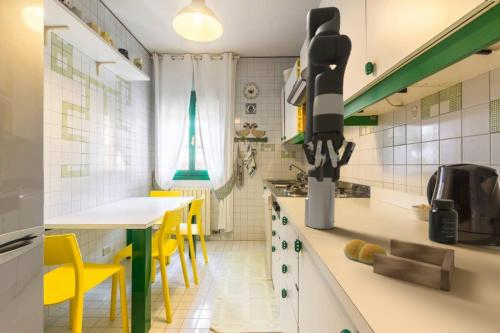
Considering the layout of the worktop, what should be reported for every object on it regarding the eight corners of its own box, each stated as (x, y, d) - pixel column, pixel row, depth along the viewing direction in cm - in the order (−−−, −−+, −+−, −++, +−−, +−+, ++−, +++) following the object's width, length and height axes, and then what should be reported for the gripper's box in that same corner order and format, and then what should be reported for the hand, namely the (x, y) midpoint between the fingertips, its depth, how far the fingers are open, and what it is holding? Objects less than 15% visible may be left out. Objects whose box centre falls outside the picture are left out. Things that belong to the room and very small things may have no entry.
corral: (373, 271, 53) (373, 254, 53) (391, 253, 65) (391, 238, 65) (448, 291, 45) (449, 271, 45) (454, 266, 57) (454, 249, 57)
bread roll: (377, 268, 55) (377, 249, 55) (338, 257, 62) (338, 240, 62) (393, 259, 61) (393, 242, 61) (355, 249, 67) (356, 234, 67)
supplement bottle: (423, 237, 80) (424, 197, 80) (447, 238, 79) (448, 198, 79) (437, 244, 73) (437, 200, 73) (463, 245, 72) (464, 201, 72)
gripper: (361, 114, 66) (360, 183, 66) (310, 119, 75) (309, 180, 75) (350, 108, 60) (349, 184, 60) (296, 115, 69) (295, 181, 69)
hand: (327, 181), depth 67 cm, fingers open, 3 cm apart
